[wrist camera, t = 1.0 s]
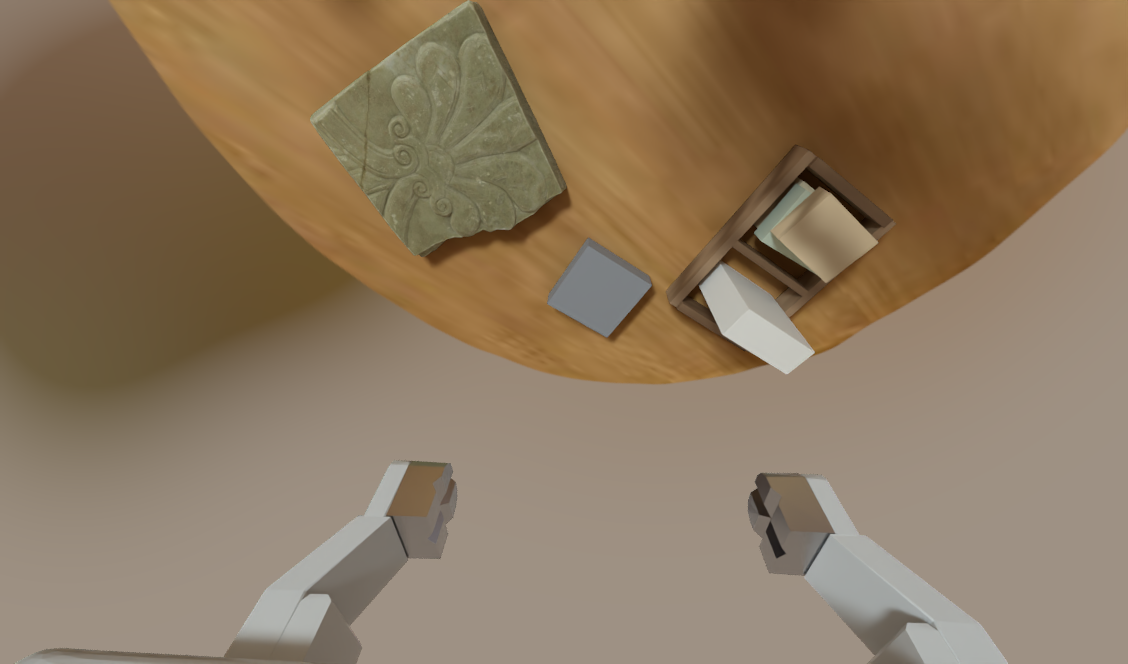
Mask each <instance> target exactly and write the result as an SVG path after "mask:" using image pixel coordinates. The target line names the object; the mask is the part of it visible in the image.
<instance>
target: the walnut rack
mask: <svg viewBox="0 0 1128 664" xmlns="http://www.w3.org/2000/svg"><path fill="white" fill-rule="evenodd" d="M805 168H806V169H807V170H808V171H810V172H811V173H812V174H813V175H814V176H816V177H817V178H818V179H819V180H820V181H822V182H823V183H824V184H825V185H827V186H828V187H829V188H830V189H831V190H833V191H834V192H835V193H836V194H838V195H839V196H840V197H841V198H842V199H844V200H845V201H846V202H847V203H848V204H850V205H851V206H852V207H853V208H855V209H856V210H857V211H858V212H859V213H861V214H862V215H863V216H864V217H865V218H863V219H862V220H861V221H860V222H859V223H860V224H861V225H862V226H863V227H864V228H865V229H866V230H867V231H868V232H869V233H870V234H871V235H872V236H873V237H874V238H875V239H876V240H878V239H880V238H881V237H882V236H883V235H884V234H885V233H886V232H888V231H889V230H890V229H891V228H892V227H893V226H894V225H896V223H895V222H894V221H893V219H891V218H890V217H889V216H888V215H887V214H885V213H884V212H883V211H882V210H881V209H880V208H878V207H877V206H876V205H875V204H874V203H872V202H871V201H870V200H869V199H868V198H866V197H865V196H864V195H863V194H862V193H861V192H859V191H858V190H857V189H856V188H855V187H853V186H852V185H851V184H850V183H849V182H847V181H846V180H845V179H844V178H843V177H842V176H840V175H839V174H838V173H837V172H836V171H834V170H833V169H832V168H831V167H830V166H828V165H827V164H826V163H825V162H824V161H823V160H821V159H820V158H819V157H817V156H815V155H814V154H813V153H812V152H811V151H809V150H807V149H805V148H803V147H800V146H798V145H795V146H794V147H793V148H792V149H791V151H790V152H789V153H788V154H787V155H786V156H785V157H784V158H783V160H782V161H781V162H780V163H779V164H778V165H777V166H776V167H775V169H774V170H773V171H772V172H771V173H770V174H769V175H768V177H767V178H766V179H765V180H764V181H763V182H762V183H761V184H760V186H759V187H758V188H757V189H756V190H755V191H754V192H753V193H752V195H751V196H750V197H749V198H748V199H747V200H746V201H745V202H744V204H743V205H742V206H741V207H740V208H739V209H738V210H737V211H736V213H735V214H734V215H733V216H732V217H731V218H730V219H729V220H728V222H727V223H726V224H725V225H724V226H723V227H722V228H721V230H720V231H719V232H718V233H717V234H716V235H715V236H714V237H713V239H712V240H711V241H710V242H709V243H708V244H707V245H706V246H705V248H704V249H703V250H702V251H701V252H700V253H699V254H698V255H697V257H696V258H695V259H694V260H693V261H692V262H691V263H690V264H689V266H688V267H687V268H686V269H685V270H684V271H683V272H682V273H681V275H680V276H679V277H678V278H677V279H676V280H675V281H674V282H673V284H672V285H671V286H670V287H669V288H668V289H667V290H666V293H667V296H668V300H669V303H670V304H672V305H673V306H675V307H676V308H677V310H679V311H680V312H682V313H684V314H685V315H687V316H688V317H690V318H692V319H693V320H695V321H697V322H698V323H700V324H701V325H703V326H705V327H706V328H708V329H709V330H711V331H713V332H714V333H716V334H718V335H719V336H721V337H722V338H724V339H726V340H727V341H729V342H730V343H732V344H734V345H735V346H737V347H738V348H740V349H742V350H743V351H747V352H749V351H748V350H746V349H745V348H743V347H741V346H740V345H738V344H737V343H735V342H733V341H732V340H730V339H728V338H727V337H725V336H724V335H722V333H721V331H720V329H719V327H718V325H717V323H716V321H715V319H714V316H713V314H712V312H711V310H709V309H708V308H706V307H704V306H703V305H701V304H700V303H698V302H697V301H695V300H693V299H692V298H690V297H689V296H687V295H688V294H689V293H690V292H691V291H692V290H693V289H694V287H695V286H696V285H697V284H698V283H699V282H700V281H701V280H702V279H703V278H704V277H705V276H706V275H707V273H708V272H709V271H710V270H711V269H712V268H713V267H714V266H715V265H716V264H717V263H718V262H719V261H720V259H721V258H722V257H723V256H724V255H725V254H726V253H727V252H728V251H729V250H730V249H731V248H732V247H733V248H734V249H736V250H737V251H739V252H740V253H741V254H743V255H744V256H746V257H747V258H749V259H750V260H751V261H753V262H754V263H756V264H757V265H759V266H760V267H761V268H763V269H764V270H766V271H767V272H768V273H770V274H771V275H773V276H774V277H776V278H777V279H778V280H780V281H781V282H783V283H784V284H786V285H787V286H788V287H789V288H788V289H787V290H785V291H784V292H783V293H782V294H781V295H780V296H779V297H778V298H777V299H776V300H775V301H776V302H777V303H778V305H779V306H780V307H781V309H782V310H783V311H784V312H785V314H786V315H787V316H788V318H789V317H791V316H792V315H793V314H794V313H795V312H796V311H797V310H799V309H800V308H801V307H802V306H803V305H804V304H805V303H807V302H808V301H809V300H810V299H811V298H812V297H813V296H815V295H816V294H817V293H818V292H819V291H820V290H821V289H823V288H824V287H825V286H826V285H827V284H828V283H829V282H831V281H832V280H833V279H834V278H835V277H836V276H837V275H838V274H837V275H836V276H835V277H834V278H832V279H831V280H830V281H828V282H827V283H825V282H824V281H823V280H822V279H821V278H820V277H819V276H818V275H816V274H815V273H813V272H811V271H810V270H807V271H806V272H805V273H804V274H803V275H802V276H801V277H800V278H798V279H796V278H794V277H793V276H792V275H790V274H789V273H787V272H786V271H785V270H783V269H782V268H780V267H779V266H778V265H776V264H775V263H773V262H772V261H771V260H769V259H768V258H766V257H765V256H764V255H762V254H761V253H759V252H758V251H757V250H755V249H754V248H752V247H751V246H750V245H748V244H747V243H745V242H744V241H743V240H741V239H740V238H741V237H742V236H743V235H744V234H745V233H746V231H747V230H748V229H749V228H750V227H751V226H752V225H753V224H754V223H755V222H756V221H757V220H758V219H759V217H760V216H761V215H762V214H763V213H764V212H765V211H766V210H767V209H768V208H769V207H770V206H771V205H772V203H773V202H774V201H775V200H776V199H777V198H778V197H779V196H780V195H781V194H782V193H783V192H784V191H785V189H786V188H787V187H788V186H789V185H790V184H791V183H792V182H793V181H794V180H795V179H796V178H797V177H798V175H799V174H800V173H801V172H802V171H803V170H804V169H805ZM841 272H842V271H841ZM841 272H840V273H841ZM840 273H839V274H840Z"/></svg>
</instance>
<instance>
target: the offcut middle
mask: <svg viewBox="0 0 1128 664" xmlns="http://www.w3.org/2000/svg"><path fill="white" fill-rule="evenodd" d="M810 194H812V193H810V192H809V191H807V190H806V189H804V188H803V187H801V186H799V185H798V184H795V185H794V186H793V187H792V188H791V190H790V191H789V192H788V193H787V194H786V195H785V197H784V198H783V199H782V200H781V201H780V203H779V204H778V205H777V206H776V207H775V208H774V210H773V211H772V212H771V213H770V214H769V216H768V217H767V218H766V219H765V220H764V221H763V223H762V224H761V225H760V226H759V227H758V229H757V230H756V231H755V232H754V234H755V235H756V236H757V237H758V238H759V239H760V241H761V242H763V243H765V244H766V245H768V246H770V247H771V248H773V249H775V250H776V251H778V252H780V253H781V254H783V255H785V256H786V257H788V258H790V259H791V260H793V261H795V262H796V263H798V264H800V265H801V266H803V267H805V268H806V269H808V270H810V271H811V272H813V271H812V270H811V269H810V268H809V267H808V266H807V265H806V264H805V263H804V262H802V261H801V260H800V259H799V258H798V257H797V256H796V255H795V254H794V253H793V252H792V251H790V250H789V249H788V248H787V247H786V246H785V245H784V244H783V243H782V242H781V241H780V240H779V239H778V238H777V237H776V236H775V235H774V234H773V233H772V232H771V231H770V230H772V229H773V228H774V227H775V226H776V225H777V224H778V223H779V222H781V221H782V220H783V219H784V218H785V217H786V216H787V215H788V214H789V213H791V212H792V211H793V210H794V209H795V208H796V207H797V206H798V205H799V204H800V203H802V202H803V201H804V200H805V199H806V198H807V197H808V196H809V195H810ZM813 273H814V272H813ZM816 275H817V274H816Z"/></svg>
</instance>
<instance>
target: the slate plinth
mask: <svg viewBox="0 0 1128 664" xmlns="http://www.w3.org/2000/svg"><path fill="white" fill-rule="evenodd" d="M651 286H652V284H651V281H650V277H649V276H648V275H647V274H645V273H644V272H642V271H640V270H639V269H637V268H636V267H634V266H632V265H631V264H629V263H628V262H626V261H625V260H623V259H621V258H620V257H618V256H617V255H615V254H614V253H612V252H610V251H609V250H607V249H606V248H604V247H602V246H601V245H599V244H598V243H596V242H595V241H593V240H591V239H590V238H588V239H587V240H586V241H585V243H584V244H583V246H582V247H581V249H580V250H579V252H578V253H577V254H576V256H575V257H574V259H573V260H572V262H571V263H570V264H569V266H568V267H567V269H566V270H565V272H564V273H563V274H562V276H561V277H560V279H559V280H558V282H557V283H556V285H555V286H554V287H553V289H552V290H551V292H550V293H549V296H548V302H547V304H548V305H550V306H552V307H554V308H555V309H557V310H559V311H561V312H562V313H564V314H566V315H568V316H570V317H571V318H573V319H575V320H577V321H578V322H580V323H582V324H584V325H586V326H587V327H589V328H591V329H593V330H594V331H596V332H598V333H600V334H601V335H603V336H605V337H608V336H609V335H610V334H611V333H612V332H613V330H614V329H615V328H616V327H617V326H618V325H619V323H620V322H621V321H622V320H623V319H624V318H625V316H626V315H627V314H628V313H629V312H630V311H631V309H632V308H633V307H634V306H635V305H636V304H637V302H638V301H639V300H640V299H641V298H642V297H643V295H644V294H645V293H646V292H647V291H648V290H649V288H650V287H651Z"/></svg>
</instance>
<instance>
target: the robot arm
mask: <svg viewBox="0 0 1128 664" xmlns="http://www.w3.org/2000/svg"><path fill="white" fill-rule="evenodd" d="M452 473H453V470H452V466H451V464H450V463H436V462H419V461H399V460H398V461H397V460H394V461H393V462H392V463H391V464H390V465H389V467H388V469H387V471H386V473H385V475H384V477H383V479H382V481H381V483H380V485H379V487H378V489H377V491H376V493H375V495H374V497H373V499H372V501H371V502H370V505H369V507H368V508H367V510H366V512H365V514H364V515H363V516H362V515H359V516H357V517H356V518H355V519H353V520H352V521H351V522H350V523H348V524H347V525H346V526H345V527H343V528H342V529H341V530H340V531H338V532H337V533H336V534H334V535H333V536H332V537H331V538H329V539H328V540H327V541H326V542H324V543H323V544H322V545H321V546H319V547H318V548H317V549H316V550H314V551H313V552H312V553H311V554H309V555H308V556H307V557H306V558H304V559H303V560H302V561H301V562H299V563H298V564H297V565H296V566H294V567H293V568H292V569H291V570H289V571H288V572H287V573H286V574H284V575H283V576H282V577H281V578H279V579H278V580H277V581H276V582H274V583H273V584H272V585H270V586H269V587H268V588H267V589H266V590H265V591H264V593H263V594H262V596H261V598H260V599H259V601H258V602H257V604H256V606H255V607H254V609H253V611H252V612H251V614H250V615H249V617H248V619H247V620H246V622H245V623H244V625H243V627H242V628H241V630H240V631H239V633H238V635H237V636H236V638H235V640H234V641H233V643H232V644H231V646H230V647H229V649H228V651H227V652H226V654H225V656H224V657H209V656H191V655H189V656H188V655H172V654H154V653H153V654H152V653H136V652H135V653H134V652H117V651H99V650H85V649H69V648H58V649H57V648H54V649H46V650H42V651H39V652H36V653H34V654H32V655H30V656H28V657H26V658H24V659H22V660H20V661H18V662H16V663H15V664H356V663H357V660H358V657H359V655H360V652H361V649H362V647H361V644H360V641H359V640H358V638H357V637H356V635H355V634H354V632H353V631H352V629H351V628H350V625H351V624H352V623H353V622H354V620H355V619H356V618H357V617H358V616H359V615H360V614H361V613H362V611H363V610H364V609H365V608H366V607H367V606H368V605H369V603H370V602H371V601H372V600H373V599H374V598H375V597H376V596H377V595H378V593H379V592H380V591H381V590H382V589H383V588H384V587H385V586H386V585H387V583H388V582H389V581H390V580H391V579H392V577H394V575H395V574H396V573H397V572H398V571H399V570H400V569H401V568H402V567H403V565H404V564H405V563H406V562H407V561H408V558H430V559H440V558H441V555H442V552H443V549H444V545H445V542H446V539H447V535H448V533H447V528H446V524H447V523H448V522H449V521H450V520H451V519H452V518H453V515H454V512H455V508H456V501H457V486H456V482H455V481H454V480H452V479H451V476H452ZM755 483H756V486H757V489H756V490H754V491H752V492H751V493H750V496H749V499H748V513H749V518H750V522H751V525H752V528H753V530H754V531H755V532H756V533H757V534H758V535H760V536H761V537H762V541H761V544H760V550H761V552H762V555H763V558H764V561H765V563H766V566H767V569H768V571H769V573H774V574H788V575H802V576H805V577H804V578H805V579H806V580H807V581H808V582H809V584H810V585H811V586H812V587H813V588H814V589H815V590H816V591H817V592H818V593H819V594H820V596H821V597H822V598H823V599H824V600H825V601H826V602H827V603H828V604H829V605H830V607H831V608H832V609H833V610H834V611H835V612H836V613H837V614H838V615H839V617H840V618H841V619H842V620H843V621H844V622H845V623H846V624H847V625H848V627H849V628H851V630H852V631H853V632H854V633H855V634H856V635H857V636H858V638H859V639H861V641H862V642H863V643H864V644H865V645H866V646H867V647H868V649H869V650H870V651H871V652H872V653H873V654H874V655H875V656H874V657H873V658H872V659H871V660H870V661H869V662H868V663H867V664H1008V662H1007V661H1006V660H1005V658H1004V657H1003V655H1002V654H1001V652H1000V651H999V650H998V648H997V647H996V646H995V644H994V643H993V641H992V640H991V638H990V637H989V635H988V634H987V633H986V631H985V630H984V628H983V627H982V626H981V625H980V624H979V623H978V622H977V621H975V620H974V619H973V618H972V617H970V616H969V615H968V614H966V613H965V612H964V611H963V610H961V609H960V608H959V607H957V606H956V605H955V604H954V603H952V602H951V601H950V600H948V599H947V598H946V597H944V596H943V595H942V594H940V593H939V592H938V591H937V590H935V589H934V588H933V587H932V586H930V585H929V584H928V583H926V582H925V581H924V580H923V579H921V578H920V577H919V576H917V575H916V574H915V573H914V572H912V571H911V570H910V569H908V568H907V567H906V566H905V565H903V564H902V563H901V562H899V561H898V560H897V559H896V558H894V557H893V556H892V555H890V554H889V553H888V552H887V551H885V550H884V549H883V548H881V547H880V546H879V545H877V544H876V543H875V542H874V541H872V540H871V539H870V538H868V537H867V536H865V535H859V533H858V531H857V530H856V528H855V526H854V525H853V523H852V521H851V520H850V518H849V516H848V515H847V513H846V511H845V510H844V508H843V506H842V505H841V503H840V501H839V500H838V498H837V496H836V495H835V493H834V491H833V489H832V488H831V486H830V484H829V483H828V481H827V480H826V478H825V477H824V476H822V475H818V474H798V473H797V474H796V473H760V474H759V475H757V478H756V480H755Z"/></svg>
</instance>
